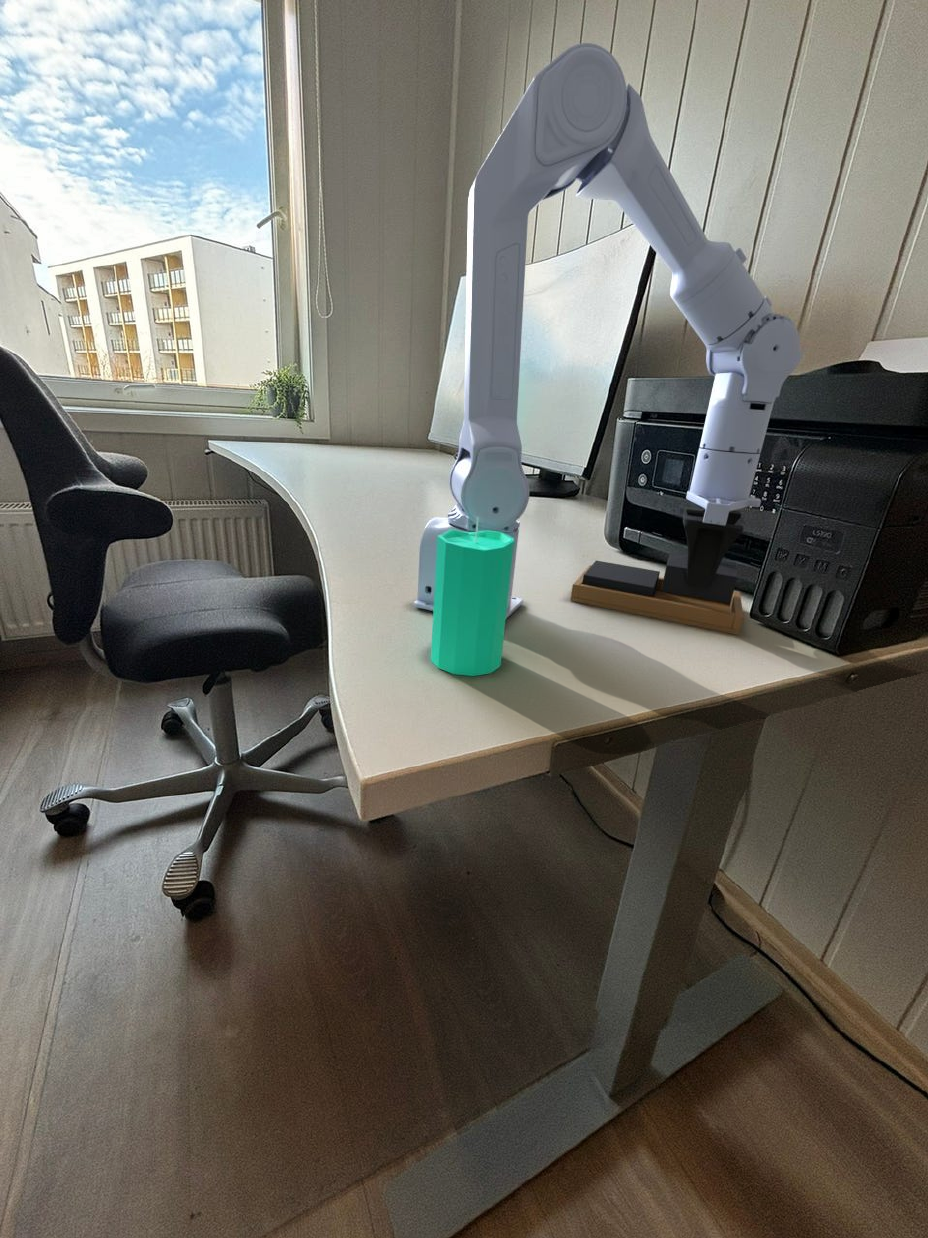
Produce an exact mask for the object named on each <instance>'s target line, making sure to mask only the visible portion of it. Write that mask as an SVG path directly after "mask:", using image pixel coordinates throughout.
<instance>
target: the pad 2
mask: <svg viewBox="0 0 928 1238" xmlns="http://www.w3.org/2000/svg"><path fill="white" fill-rule="evenodd" d="M687 560H688V556H683V555H677V554H671V553H670V554H669V557H668V559H667V563H666V566H665V571H664V574H663V578H664V579H663V584H662V588H661V592H667V593H672V594H678V595H683V596H688V597H694V598H699V599H705V600H710V601H716V602H721V603H726V604H730V603H731V599H732V596H733V592H734V591H735V588H736V584H737V581H738V573H737V572H738V571H737V565H736V564H734V563H727V562H723V561H721V563H720V565H719V567H718V569H717V572H716V574H715V576H714V578H713V580H712V582H711V584H710V585H709V587H708V588H701V587H696V586H690V585H687Z"/></svg>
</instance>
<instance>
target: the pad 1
mask: <svg viewBox="0 0 928 1238" xmlns="http://www.w3.org/2000/svg"><path fill="white" fill-rule="evenodd" d="M591 565H592V566H591V567H590V568H589V569H588V570H587V572H586V573H585V574H584V575H583V582H582V584H584V585H590V586H595V587H600V588H605V589H611V590H616V591H621V592H626V593H632V594H637V595H642V596H647V597H653V598H654V595H655V592H656V588H657V584H658V579H659V577H660V574H661V571H659V570H653V569H648V568H644V567H643V568H642V567H636V566H631V565H630V566H629V565H625V564H620V563H619V564H618V563H614V562H607V561H602V560H596V559H595V560H594V562H593V563H592V564H591Z"/></svg>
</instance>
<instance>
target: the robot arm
mask: <svg viewBox="0 0 928 1238" xmlns="http://www.w3.org/2000/svg"><path fill="white" fill-rule="evenodd" d="M576 180H577V181H579V182H581V183H580V185H579V186H578V189H577V191H576V193H575V198H578V199H585V200H599V201H600V200H602V201H612V202H614V203H616V204H617V206H618V207H619V208H620V209H621V211H622V212H623V213H624V214H625V216H626V217H627V218H628V220H629V221H630V222H631V223H632V224H633V225H634V227H635V228H636V229H637V230H638V232H639V233H640V234H641V236H642V237H643V238H644V239H645V240H646V241H647V243H648V244H649V246H651V248H652V250H653V251H654V252H655V253H656V255H658V257H659V258H660V259H661V260H662V261H663V263H664V264H665V265H666V266H667V268H668V269H669V270H670V272H671V281H670V290H669V295H670V298H671V299H672V301H673V302H674V303H675V305H676V306H677V308H678V309H679V311H680V312H681V314H682V315H683V316H684V318H685V319H686V320H687V322H688V323H689V325H690V326H691V327H692V329H693V330H694V332H695V334H696V335H697V336H698V337H699V338H700V340H701V341H702V343H703V345H704V346H705V348H706V355H705V357H706V358H705V363H706V369H707V372H708V373H709V374H710V375H712V376H713V377H714V380H713V385H712V389H711V393H710V398H709V401H708V402H709V404H708V406H707V407H708V408H707V411H706V416H705V421H704V425H703V429H702V435H701V438H700V443H699V448H698V451H697V456H696V460H695V464H694V465H695V466H694V470H693V473H692V477H691V478H692V479H691V483H690V486H689V487H690V488H689V490H687V492H686V497H685V498H686V500H688V501H689V502H691V503H693V504H695V505H697V506H699V507H694V506H688V507H686V509H685V511H686V514H684V515H683V517H682V524H683V528H684V532H685V536H686V542H687V543H686V544H687V557H688V560H687V585H690V586H696V587H701V588H708V587H709V585H710V584H711V582H712V580H713V578H714V576H715V574H716V572H717V569H718V567H719V565H720V563H721V562H723V559H724V557H725V555H726V554H727V552H728V550H729V549H730V547H731V546H732V545H733V544H734V542H735V541H736V540H737V539H738V538H739V537H740V535H742V533H743V531H744V529H745V527H744V525H740V524H737V523H738V521H739V520H741V517H742V512H741V511H738V510H741V509H745V508H748V507H751V508H760V506H761V504H762V500H761V499H760V498H757V497H750V494H751V491H752V487H753V483H754V478H755V475H756V472H757V468H758V464H759V460H760V456H761V452H762V450H763V449H762V448H763V446H764V445H763V444H764V441H765V439H766V438H765V437H766V434H767V430H768V426H769V422H770V418H771V415H772V411H773V408H774V404H775V401H776V399H777V398H779V397H780V393H781V391H782V386H783V385H784V383H785V381H786V379H787V378H788V377H789V376H790V375H791V374H792V373H793V372H794V371H795V370H796V368H797V367H798V365H799V364H800V361H801V359H802V357H803V354H804V350H803V349H800V345H801V344H800V342H801V341H800V334H799V331H798V329H797V327H796V325H795V323H794V322H793V321H792V319H790V318H789V317H788V316H786V315H782V314H780V313H774V312H773V309H772V306H773V303H772V301H771V299H770V298H769V296H767V295H766V296H764V295H763V293H762V292H761V290H760V289H759V287H758V285H757V284H756V282H755V281H754V279H753V277H752V276H751V274H750V273H749V271H748V270H747V268H746V266H745V265H744V264H745V262H746V261H747V259H748V258H747V256H746V255H745V253H744V251H743V250H742V248H741V247H738V248H735V249H734V248H733V246H732V245H731V243H730V242H729V241H728V242H727V241H713V240H709V239H708V238H707V235H706V234H705V233H704V231H703V229H702V227H701V225H700V224H699V221H698V220H697V217H696V216H695V214H694V212H693V210H692V209H691V207H690V205H689V203H688V201H687V199H686V198H685V196H684V194H683V192H682V191H681V189H680V187H679V184H678V183H677V182H676V180H675V178H674V177H673V174H672V172H671V170H670V169H669V167H668V165H667V163H666V161H665V159H664V158H663V156H662V154H661V153H660V151H659V149H658V147H657V144H656V143H655V141H654V140H653V137H652V135H651V132H650V129H649V124H648V121H647V116H646V112H645V108H644V103H643V99H642V97H641V95H640V94H639V93H638V91H637V90H635V88H634V87H633V86H632V84H630V83H628V84H627V83H626V79H625V76H624V72H623V70H622V67H621V65H620V64H619V62H618V61H617V59H616V58H615V56H614V55H613V54H612V53H611V52H610V51H609V50H608V49H606V48H604V47H603V46H602V45H599V44H596V43H591V42H581V43H577V44H574V45H572V46H570V47H568V48H566V49H565V50H563V52H561V53H560V54H559V55H558V56H556V57H555V58H554V59H553V60H552V61H550V62H549V64H547V65H546V66H545V67H543V68H542V69H541V70H540V71H539V72H538V73H536V74H535V75H534V77H533V78H532V80H531V82H530V83H529V85H528V87H527V89H526V91H525V92H524V94H523V95H522V97H521V99H520V101H519V102H518V105H517V106H516V108H515V109H514V111H513V113H512V115H511V116H510V118H509V120H508V121H507V123H506V124H505V126H504V128H503V130H502V132H500V134H499V136H498V138H497V140H496V141H495V143H494V145H493V146H492V148H491V150H490V152H489V153H488V155H487V156H486V158H485V160H484V162H483V163H482V165H481V166H480V168H479V170H478V171H477V174H476V176H475V178H474V181H473V182H472V185H471V187H470V189H469V195H468V200H467V239H466V240H467V241H466V242H467V244H466V248H467V249H466V289H465V291H466V296H465V298H466V299H465V303H466V305H465V344H464V345H465V346H464V347H465V348H464V390H463V391H464V393H463V394H464V395H463V396H464V399H463V421H462V426H461V429H460V434H459V439H458V453H457V457H456V460H455V462H454V464H453V465H452V467H451V469H450V473H449V477H448V481H449V483H448V484H449V490H450V493H451V495H452V497H453V499H454V500H455V502H456V503H457V504H455V505H454V506H453V508H452V509H451V510H450V512H448V513H447V517H440V516H438V517H433V518H431V519H430V520H429V521H428V522H427V524H426V526H425V527H424V529H423V531H422V534H421V535H422V536H421V539H420V544H419V551H418V552H419V554H418V575H417V576H418V577H417V598H416V600H414V602H413V606H414V608H419V609H423V610H428V611H432V612H433V611H434V593H435V575H436V557H437V539H438V536H439V535H441V534H443V533H445V532H447V531H449V530H451V529H452V530H457V531H462V532H467V533H469V532H476V522H477V517H479V520H478V531H485V530H489V531H496V532H502V533H505V534H507V535H509V536H511V537H512V538H514V546H513V556H512V565H511V574H510V583H509V592H508V601H507V611H506V619H508V618H509V616H511V615H512V614H513V613H514V612H515V611H516V610H517V609H518V608H519V607H520V606H521V605H522V604H523V602H524V600H523V598H520V597H516V596H513V587H514V578H515V568H516V561H517V552H518V551H517V550H518V545H519V544H518V543H519V534H520V526H521V521H520V520H519V519H520V518H521V517H522V515H523V514H524V512H525V511H526V509H527V507H528V504H529V500H530V493H531V492H530V484H529V480H528V478H527V476H526V474H525V472H524V469H523V464H522V451H523V445H522V440H521V436H520V430H519V426H518V407H519V391H520V390H519V389H520V369H521V353H522V350H521V349H522V334H523V314H524V299H525V296H524V295H525V278H526V261H527V242H528V223H529V215H530V214H531V213H532V212H533V211H534V210H535V208H536V207H538V205H539V204H541V202H542V201H545V200H546V199H549V198H551V197H554V196H556V195H558V194H560V193H562V192H564V191H565V190H568V189H569V188H570V187H571V186H572V185H573V184H574V183H575V181H576Z"/></svg>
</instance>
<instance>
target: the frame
mask: <svg viewBox="0 0 928 1238" xmlns="http://www.w3.org/2000/svg"><path fill="white" fill-rule="evenodd" d="M592 565H593V564H589V565H588V566H587V568H585V570H584V571H583V572H582V573H581V574H580V576H579V577H578V578H577V579H576V580H575V581H574V582H573V584H572V587H571V593H570V599H569V601H570V602H574V603H579V604H584V605H589V606H594V607H599V608H604V609H609V610H614V611H619V612H625V613H628V614H634V615H637V616H643V617H647V618H648V617H649V618H654V619H658V620H663V621H668V622H673V623H678V624H681V625H682V624H683V625H688V626H692V627H697V628H702V629H708V630H711V631H712V630H713V631H718V632H722V633H727V634H731V635H732V634H733V635H737V636H739V635H740V632H741V628H742V625H743V621H744V618H745V617H744V611H743V609H744V608H743V603H742V597H741V592H740V591H738V590H734V592H733V596H732V599H731V603H730V604H726V603H721V602H716V601H710V600H705V599H699V598H694V597H688V596H683V595H678V594H672V593H667V592H661V588H662V584H663V579H664V577H660V576H659V579H658V584H657V588H656V592H655V595H654V598H653V597H647V596H642V595H637V594H632V593H626V592H621V591H616V590H611V589H605V588H600V587H595V586H590V585H584V584H582V582H583V575H584V574H585V573H586V572H587V570H588V569H589V568H590V567H591V566H592Z"/></svg>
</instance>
